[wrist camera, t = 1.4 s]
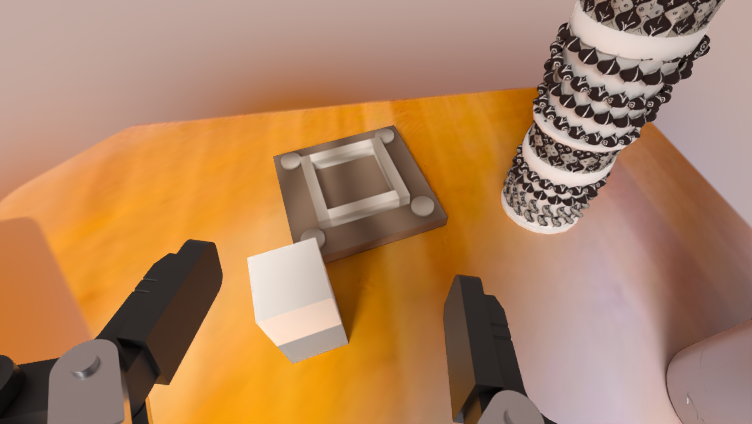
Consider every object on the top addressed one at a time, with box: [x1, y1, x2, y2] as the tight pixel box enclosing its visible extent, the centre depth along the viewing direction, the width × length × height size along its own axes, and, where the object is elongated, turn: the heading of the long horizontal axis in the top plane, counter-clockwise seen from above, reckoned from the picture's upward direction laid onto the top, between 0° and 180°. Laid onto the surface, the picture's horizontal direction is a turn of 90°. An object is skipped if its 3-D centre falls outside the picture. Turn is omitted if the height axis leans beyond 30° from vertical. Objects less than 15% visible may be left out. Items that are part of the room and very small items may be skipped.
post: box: [247, 237, 349, 363], centre depth 28 cm, size 5×5×10 cm
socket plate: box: [273, 125, 447, 264], centre depth 40 cm, size 16×16×3 cm
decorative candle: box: [501, 0, 725, 235], centre depth 29 cm, size 9×9×25 cm
